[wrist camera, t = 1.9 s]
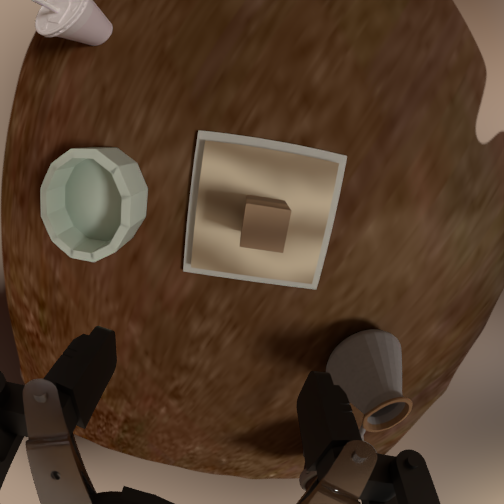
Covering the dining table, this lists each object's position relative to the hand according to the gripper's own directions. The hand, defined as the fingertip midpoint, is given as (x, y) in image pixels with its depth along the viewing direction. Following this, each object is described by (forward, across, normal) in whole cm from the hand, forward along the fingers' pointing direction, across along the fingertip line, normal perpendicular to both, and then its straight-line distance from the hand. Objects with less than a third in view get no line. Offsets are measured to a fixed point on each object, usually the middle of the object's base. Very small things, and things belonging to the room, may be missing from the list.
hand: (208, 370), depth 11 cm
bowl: (+22, +16, 0) cm, 28 cm away
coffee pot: (+23, -21, +19) cm, 37 cm away
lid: (+22, -2, -2) cm, 22 cm away
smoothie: (+22, +22, -21) cm, 38 cm away
